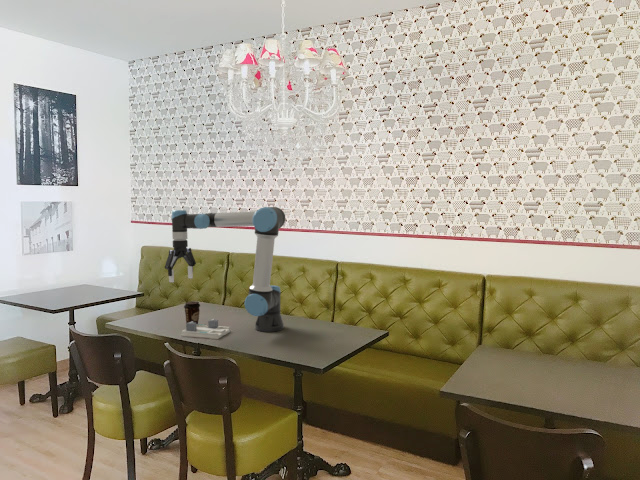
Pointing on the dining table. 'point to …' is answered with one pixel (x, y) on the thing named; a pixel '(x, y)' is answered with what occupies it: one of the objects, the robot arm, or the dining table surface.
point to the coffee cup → (192, 311)
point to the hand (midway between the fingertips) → (181, 280)
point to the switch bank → (207, 332)
